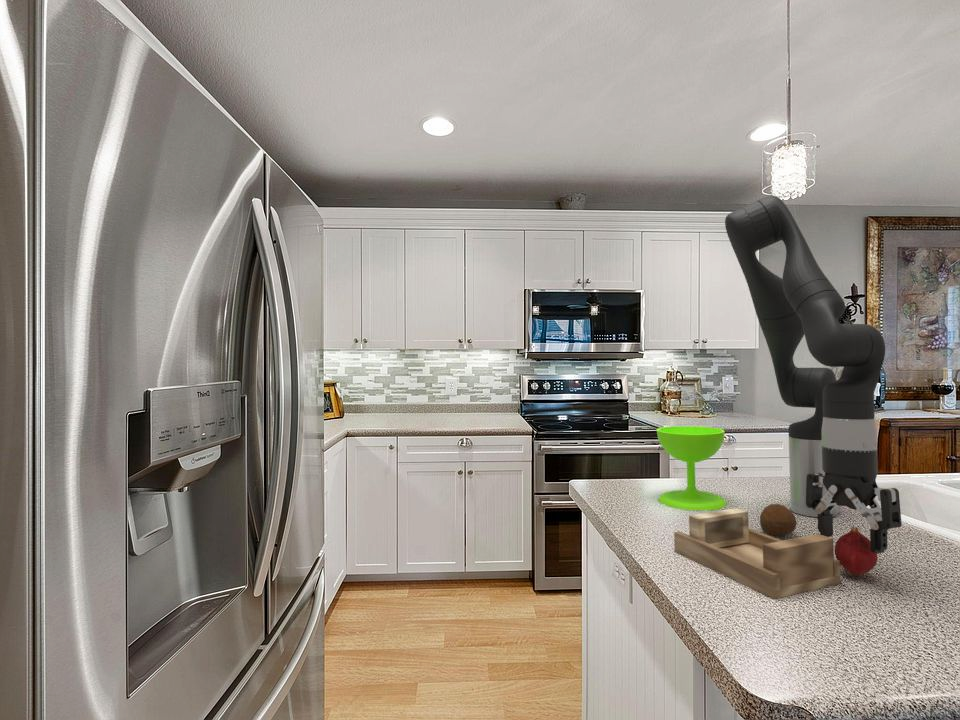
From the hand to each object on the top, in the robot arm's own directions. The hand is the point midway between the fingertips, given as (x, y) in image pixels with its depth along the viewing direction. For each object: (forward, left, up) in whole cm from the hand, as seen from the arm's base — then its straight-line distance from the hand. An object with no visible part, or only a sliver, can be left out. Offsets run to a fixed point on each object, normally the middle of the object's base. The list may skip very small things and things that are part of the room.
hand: (850, 543), depth 88 cm
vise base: (+11, -10, -5) cm, 16 cm away
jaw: (+11, -17, -4) cm, 21 cm away
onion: (-1, 0, -6) cm, 6 cm away
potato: (-7, -20, -6) cm, 21 cm away
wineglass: (-9, -47, -6) cm, 48 cm away
